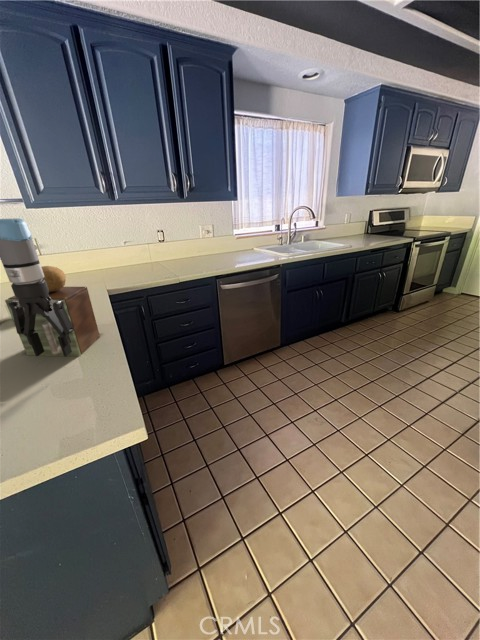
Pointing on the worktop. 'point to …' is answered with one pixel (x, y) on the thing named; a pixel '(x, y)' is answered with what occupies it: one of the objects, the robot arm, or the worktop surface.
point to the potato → (54, 278)
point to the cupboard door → (47, 335)
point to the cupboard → (79, 314)
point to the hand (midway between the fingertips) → (54, 353)
